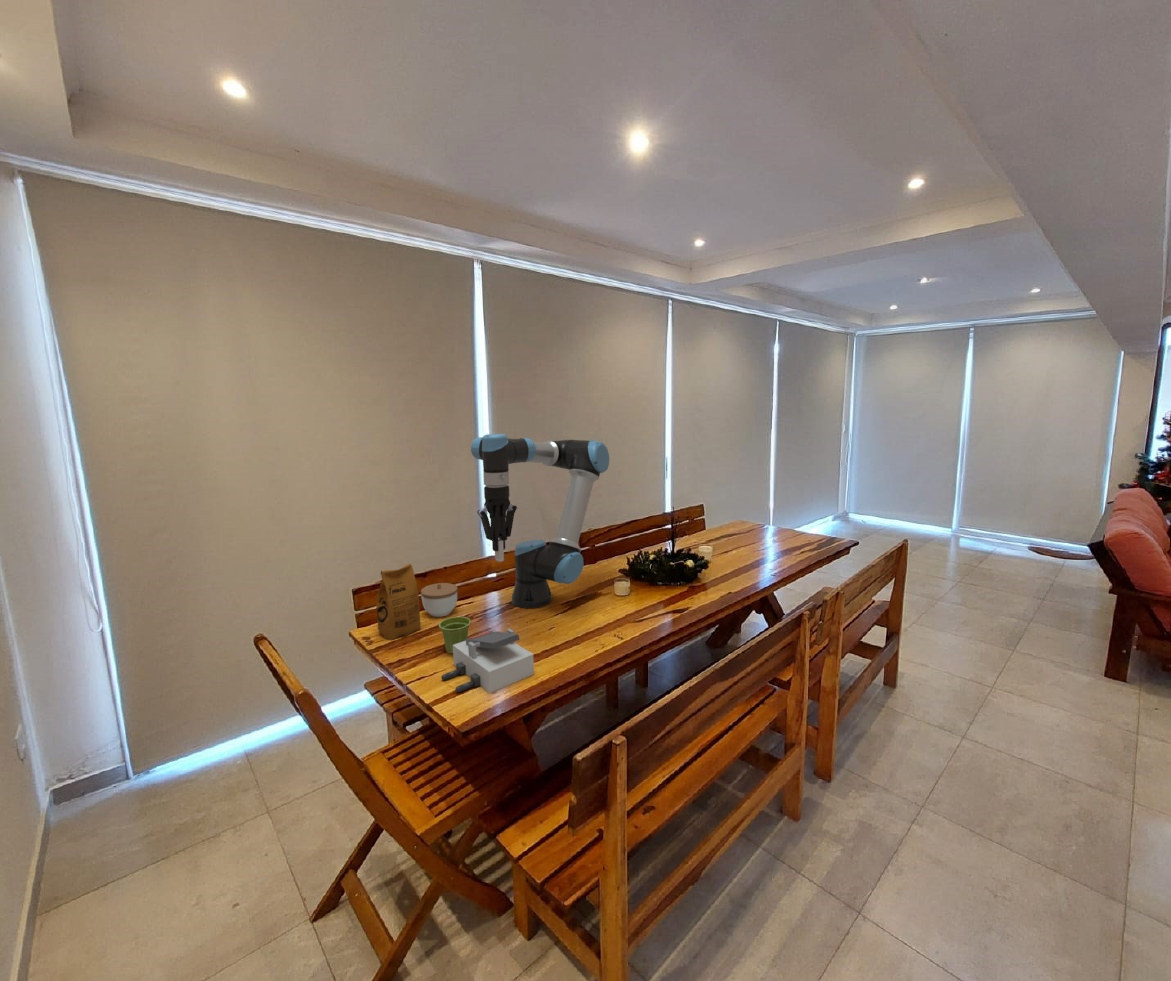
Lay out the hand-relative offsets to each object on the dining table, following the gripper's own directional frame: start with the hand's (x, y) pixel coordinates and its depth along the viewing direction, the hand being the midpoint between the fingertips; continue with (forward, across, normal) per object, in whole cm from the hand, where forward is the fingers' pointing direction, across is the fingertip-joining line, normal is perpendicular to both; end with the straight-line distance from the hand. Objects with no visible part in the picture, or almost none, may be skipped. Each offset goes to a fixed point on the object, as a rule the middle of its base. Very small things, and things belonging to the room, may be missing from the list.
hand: (499, 560), depth 158 cm
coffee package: (+27, -22, +28) cm, 44 cm away
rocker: (+17, -12, -14) cm, 25 cm away
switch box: (+26, -15, -14) cm, 33 cm away
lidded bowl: (+27, -5, +33) cm, 43 cm away
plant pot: (+27, -14, +4) cm, 30 cm away
